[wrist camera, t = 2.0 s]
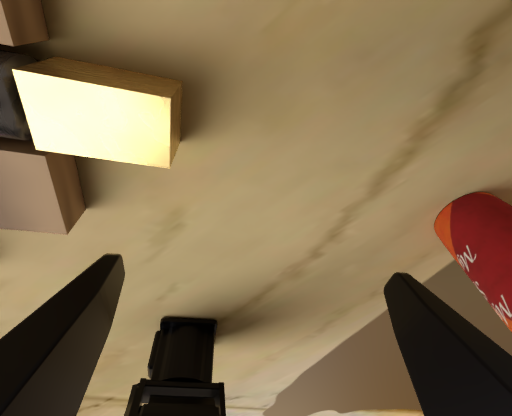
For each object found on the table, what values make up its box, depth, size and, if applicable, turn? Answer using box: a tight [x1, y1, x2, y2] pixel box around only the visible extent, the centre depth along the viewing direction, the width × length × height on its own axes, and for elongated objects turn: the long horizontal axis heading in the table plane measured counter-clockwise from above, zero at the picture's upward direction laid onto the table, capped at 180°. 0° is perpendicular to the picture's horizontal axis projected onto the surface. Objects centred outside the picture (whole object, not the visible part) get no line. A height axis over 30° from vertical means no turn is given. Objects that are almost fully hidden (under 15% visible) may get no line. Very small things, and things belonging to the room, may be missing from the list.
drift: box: [12, 57, 182, 168], centre depth 16 cm, size 7×4×4 cm, turn 78°
